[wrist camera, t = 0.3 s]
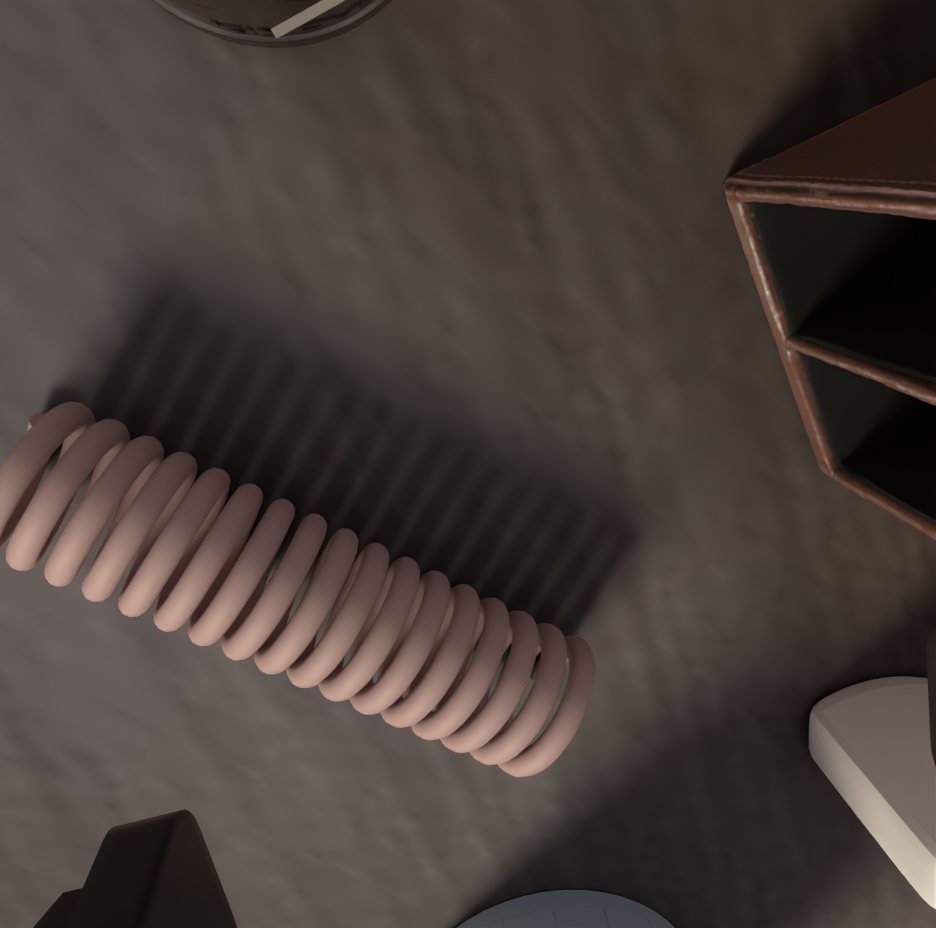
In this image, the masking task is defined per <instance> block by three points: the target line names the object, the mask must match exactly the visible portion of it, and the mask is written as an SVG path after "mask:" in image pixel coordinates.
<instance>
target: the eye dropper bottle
mask: <svg viewBox="0 0 936 928" xmlns="http://www.w3.org/2000/svg"><path fill="white" fill-rule="evenodd" d="M809 750H810V753H811V756H812V758H813V759H814V761H815V762H816V763H817V765H818V766H819V767H820V769H821V770H822V771H823V772H824V774H825V775H826V776H827V778H828V779H829V780H830V782H831V783H832V784H833V785H834V787H835V788H836V789H837V791H838V792H839V793H840V794H841V796H842V797H843V798H844V800H845V801H846V802H847V804H848V805H849V806H850V807H851V809H852V810H853V811H854V813H855V814H856V815H857V816H858V818H859V819H860V820H861V822H862V823H863V824H864V825H865V827H866V828H867V829H868V831H869V832H870V833H871V834H872V836H873V837H874V838H875V840H876V841H877V842H878V843H879V845H880V846H881V847H882V849H883V850H884V851H885V852H886V854H887V855H888V856H889V858H890V859H891V860H892V861H893V863H894V864H895V865H896V867H897V868H898V869H899V870H900V872H901V873H902V874H903V875H904V876H905V878H906V879H907V880H908V881H909V883H910V884H911V885H912V886H913V887H914V889H915V890H916V891H917V892H918V894H919V895H920V896H921V897H922V898H923V899H924V900H925V901H926V902H927V903H928V904H929V905H930V906H932V907H933V908H934V909H936V767H935V763H934V760H933V756H932V751H931V741H930V721H929V700H928V679H927V678H921V677H909V676H896V677H885V678H878V679H873V680H869V681H865V682H861V683H858V684H855V685H852V686H849V687H846V688H844V689H841V690H839V691H837V692H835V693H833V694H831V695H829V696H827V697H825V698H823V699H822V700H820V701H819V702H818V703H817V704H816V705H815V706H814V707H813V708H812V711H811V714H810V720H809Z"/></svg>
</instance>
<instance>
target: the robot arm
mask: <svg viewBox="0 0 936 928" xmlns="http://www.w3.org/2000/svg"><path fill="white" fill-rule="evenodd" d="M152 1H154V2H155V3H156V4H158V5H159V6H160V7H162V8H163V9H164V10H166V11H167V12H168V13H170V14H171V15H173V16H175V17H176V18H178V19H180V20H181V21H183V22H185V23H186V24H188V25H190V26H192V27H194V28H196V29H198V30H201V31H203V32H205V33H207V34H210V35H213V36H215V37H218V38H221V39H224V40H228V41H232V42H235V43H239V44H245V45H251V46H258V47H275V48H278V47H295V46H301V45H308V44H313V43H317V42H320V41H324V40H327V39H331V38H333V37H336V36H338V35H341V34H343V33H345V32H347V31H349V30H351V29H353V28H355V27H357V26H359V25H361V24H362V23H364V22H365V21H367V20H368V19H370V18H371V17H373V16H374V15H375V14H377V13H378V12H379V11H380V10H382V9H383V8H384V7H385V6H386V5H387V4H389V3H390V2H391V1H392V0H152ZM926 659H927V679H928V700H929V721H930V741H931V751H932V756H933V760H934V763H935V767H936V627H934V628H933V629H931V631H930V632H929V634H928V637H927V642H926ZM33 928H237V926H236V923H235V920H234V917H233V914H232V911H231V909H230V906H229V903H228V901H227V898H226V896H225V893H224V890H223V888H222V885H221V882H220V880H219V877H218V875H217V872H216V869H215V867H214V864H213V862H212V859H211V856H210V854H209V851H208V848H207V846H206V843H205V841H204V838H203V835H202V833H201V830H200V828H199V825H198V823H197V821H196V819H195V817H194V816H193V815H192V814H191V812H189V811H188V810H181V811H177V812H172V813H168V814H164V815H160V816H156V817H152V818H148V819H144V820H140V821H136V822H132V823H128V824H124V825H120V826H116V827H113V828H112V829H110V830H109V831H108V833H107V834H106V836H105V838H104V840H103V842H102V844H101V847H100V849H99V851H98V854H97V856H96V858H95V861H94V863H93V865H92V868H91V870H90V872H89V875H88V877H87V879H86V882H85V884H84V886H83V888H81V889H77V890H73V891H69V892H65V893H62V895H61V896H60V897H59V898H58V899H57V900H56V902H55V903H54V904H53V905H52V906H51V907H50V909H49V910H48V911H47V912H46V913H45V914H44V916H43V917H42V918H41V919H40V920H39V921H38V923H37V924H36V925H35V926H34V927H33Z"/></svg>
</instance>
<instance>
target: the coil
mask: <svg viewBox="0 0 936 928" xmlns="http://www.w3.org/2000/svg"><path fill="white" fill-rule="evenodd" d="M63 441H64V442H63ZM62 442H63V446H62V450H61V453H60V456H59V459H58V462H57V464H56V465H55V466H54V468H53V469H52V470H51V472H50V473H49V475H48V476H47V477H46V479H45V480H44V482H43V483H42V485H41V486H40V488H39V489H38V491H37V493H36V494H35V496H34V497H33V495H34V493H35V491H36V489H37V486H38V484H39V482H40V480H41V478H42V475H43V473H44V471H45V468H46V466H47V464H48V461H49V458H50V456H51V455H52V454H53V452H54V451H55V450H56V449H57V448H58V447H59V445H60V444H61V443H62ZM163 459H164V449H163V447H162V444H161V442H160V441H159V440H157V439H156V438H155V437H153V436H146V435H143V436H140V437H138V438H135V439H133V440H131V441H130V435H129V432H128V429H127V427H126V426H125V425H124V424H123V423H121V422H120V421H119V420H115V419H105V420H102V421H99V422H97V423H95V418H94V416H93V413H92V411H91V410H90V409H89V408H88V407H87V406H85V405H84V404H83V403H78V402H71V401H70V402H67V403H63V404H61V405H58V406H56V407H54V408H53V409H51V410H50V411H48V412H47V413H39V414H35V415H33V416H31V418H30V420H29V425H28V430H27V433H26V434H25V435H24V436H23V437H22V439H21V440H20V441H19V442H18V444H17V445H16V446H15V447H14V449H13V450H12V451H11V453H10V454H9V455H8V457H7V458H6V460H5V461H4V462H3V464H2V465H1V467H0V547H2V545H3V544H4V543H5V542H6V540H7V539H8V538H9V536H10V535H11V533H12V532H13V530H14V529H15V527H16V525H17V524H18V525H17V527H16V529H15V530H14V532H13V535H12V537H11V539H10V541H9V543H8V546H7V549H6V561H7V562H8V564H9V565H10V566H11V568H14V569H16V570H18V571H24V570H29V569H30V568H32V567H34V566H35V565H37V563H38V562H39V561H40V559H41V558H42V556H43V555H44V553H45V551H46V550H47V548H48V546H49V545H50V543H51V541H52V539H53V537H54V536H55V534H56V532H57V530H58V528H59V526H60V525H61V523H62V521H63V519H64V517H65V515H66V513H67V511H68V508H69V506H70V504H71V502H72V500H73V498H74V495H75V493H76V492H77V490H78V489H79V487H80V486H81V485H82V483H83V482H84V480H85V479H86V478H87V476H88V475H89V474H90V472H91V471H92V470H93V468H94V467H95V469H94V472H93V474H92V477H91V480H90V482H89V485H88V487H87V490H86V492H85V495H84V497H83V499H82V501H81V504H80V506H79V507H78V509H77V510H76V512H75V514H74V515H73V517H72V518H71V520H70V522H69V523H68V525H67V527H66V528H65V530H64V532H63V533H62V535H61V537H60V538H59V540H58V542H57V544H56V546H55V547H54V549H53V551H52V553H51V555H50V557H49V559H48V561H47V563H46V565H45V578H46V579H47V581H48V582H49V583H50V584H52V585H54V586H66V585H67V584H69V583H71V582H72V581H73V579H74V578H75V576H76V574H77V573H78V571H79V569H80V567H81V565H82V564H83V562H84V560H85V558H86V556H87V554H88V552H89V551H90V549H91V547H92V545H93V544H94V542H95V540H96V539H97V537H98V535H99V534H100V532H101V531H102V529H103V527H104V526H105V524H106V523H107V521H108V519H109V518H110V516H111V515H112V513H113V512H114V510H115V509H116V507H117V506H118V504H119V503H120V501H121V503H120V505H119V508H118V510H117V512H116V515H115V517H114V519H113V521H112V524H111V526H110V528H109V530H108V533H107V535H106V537H105V539H104V541H103V543H102V546H101V548H100V550H99V552H98V554H97V556H96V558H95V560H94V562H93V564H92V566H91V568H90V570H89V572H88V574H87V576H86V578H85V580H84V582H83V584H82V593H83V594H84V596H85V597H86V599H88V600H91V601H93V602H97V601H103V600H104V599H106V598H108V597H109V596H110V595H111V593H112V592H113V590H114V589H115V587H116V586H117V584H118V582H119V581H120V579H121V578H122V576H123V574H124V573H125V571H126V569H127V568H128V566H129V565H130V563H131V561H132V560H133V558H134V556H135V555H136V553H137V552H138V550H139V552H138V554H137V556H136V558H135V561H134V563H133V565H132V568H131V570H130V572H129V574H128V577H127V579H126V581H125V584H124V586H123V588H122V591H121V593H120V596H119V599H118V606H119V609H120V610H121V612H122V613H123V614H125V615H127V616H129V617H134V616H139V615H141V614H143V613H144V612H146V611H147V610H148V608H149V607H150V606H151V605H152V603H153V602H154V600H155V599H156V597H157V596H158V594H159V593H160V595H159V597H158V600H157V603H156V606H155V609H154V623H155V624H156V626H157V627H158V628H159V629H161V630H163V631H165V632H166V631H175V630H176V629H178V628H180V627H181V626H182V625H184V624H185V622H186V621H187V620H188V619H189V618H190V619H189V624H188V635H189V637H190V639H191V640H192V642H193V643H195V644H197V645H199V646H207V645H211V644H212V643H214V642H215V641H217V640H218V639H220V638H221V637H222V650H223V651H224V653H225V654H226V656H227V657H228V658H231V659H233V660H244V659H246V658H248V657H249V656H251V655H252V654H253V653H254V657H255V663H256V665H257V666H258V668H259V669H260V670H261V671H262V672H264V673H266V674H278V673H280V672H282V671H283V670H285V669H286V671H287V675H288V677H289V679H290V681H291V682H292V683H293V684H294V685H296V686H298V687H300V688H309V687H313V686H315V685H317V684H318V687H319V689H320V691H321V692H322V694H323V696H325V697H326V698H327V699H329V700H331V701H344V700H347V699H349V700H350V701H351V703H352V705H353V707H354V708H355V709H356V710H357V711H359V712H361V713H363V714H367V715H370V714H377V713H381V715H382V717H383V718H384V720H385V721H386V722H387V723H388V724H390V725H392V726H394V727H399V728H401V727H408V726H411V728H412V730H413V731H414V732H415V734H416V735H418V736H420V737H421V738H423V739H425V740H437V739H440V740H441V742H442V743H443V744H444V745H445V747H447V748H449V749H451V750H452V751H454V752H458V753H464V752H470V754H471V755H472V756H473V757H474V759H476V760H478V761H480V762H482V763H483V764H487V765H495V764H498V766H499V767H500V768H501V769H502V770H503V771H505V772H507V773H509V774H511V775H512V776H516V777H525V776H532V775H534V774H537V773H539V772H541V771H542V770H544V769H546V768H547V767H548V766H549V765H551V764H552V763H553V762H554V761H555V760H556V759H557V758H558V757H559V756H560V754H561V753H562V752H563V751H564V749H565V748H566V747H567V745H568V744H569V742H570V741H571V739H572V738H573V736H574V735H575V733H576V731H577V729H578V727H579V725H580V723H581V721H582V719H583V717H584V714H585V712H586V709H587V706H588V704H589V701H590V697H591V693H592V690H593V684H594V678H595V661H594V656H593V653H592V651H591V648H590V646H589V645H588V643H587V642H586V641H584V640H583V639H581V638H580V637H578V636H565V637H564V636H563V634H562V632H561V631H560V629H558V628H557V627H555V626H554V625H552V624H546V623H540V624H537V625H536V623H535V621H534V619H533V617H532V616H531V615H529V614H528V613H526V612H525V611H512V612H509V613H508V611H507V608H506V606H505V604H504V603H503V602H501V601H500V600H499V599H497V598H485V599H483V600H481V601H480V599H479V597H478V595H477V592H476V590H475V589H473V588H472V587H471V586H469V585H466V584H459V585H457V586H455V587H453V588H451V589H450V584H449V581H448V579H447V577H446V576H445V575H444V574H443V573H441V572H440V571H429V572H427V573H425V574H423V575H422V576H421V577H420V569H419V566H418V564H417V562H416V561H414V560H413V559H412V558H410V557H401V558H399V559H397V560H395V561H394V562H393V563H392V564H391V565H390V566H389V568H388V565H389V553H388V551H387V548H386V547H385V546H383V545H382V544H380V543H371V544H369V545H367V546H365V547H364V548H363V550H362V551H361V552H360V554H359V555H358V557H357V558H356V560H355V561H354V559H355V556H356V553H357V549H358V538H357V536H356V534H355V533H354V532H353V531H352V530H350V529H345V528H342V529H340V530H338V531H336V532H335V533H334V534H333V536H332V537H331V538H330V540H329V541H328V543H327V545H326V547H325V548H324V550H323V552H322V554H321V556H320V558H319V560H318V563H317V565H316V567H315V569H314V571H313V574H312V576H311V578H310V581H309V583H308V585H307V588H306V590H305V593H304V596H303V598H302V601H301V603H300V605H299V606H298V608H297V610H296V611H295V613H294V615H293V616H292V618H291V619H290V621H289V622H288V624H287V620H288V617H289V614H290V611H291V608H292V605H293V602H294V599H295V597H296V594H297V592H298V590H299V588H300V587H301V585H302V583H303V581H304V579H305V577H306V576H307V574H308V572H309V570H310V568H311V566H312V564H313V562H314V560H315V558H316V556H317V554H318V552H319V549H320V547H321V545H322V543H323V540H324V538H325V535H326V530H327V524H326V521H325V519H324V518H323V517H322V516H320V515H319V514H310V515H307V516H305V517H304V519H303V520H302V521H301V522H300V524H299V526H298V528H297V530H296V532H295V534H294V536H293V538H292V541H291V543H290V545H289V547H288V549H287V551H286V553H285V555H284V557H283V558H282V560H281V562H280V564H279V566H278V567H277V569H276V571H275V573H274V574H273V576H272V578H271V580H270V581H269V583H268V585H267V586H266V588H265V590H264V591H263V589H264V586H265V583H266V581H267V578H268V576H269V573H270V571H271V568H272V566H273V563H274V561H275V558H276V556H277V554H278V551H279V549H280V547H281V545H282V542H283V540H284V538H285V536H286V533H287V531H288V529H289V527H290V525H291V523H292V521H293V519H294V516H295V508H294V506H293V504H292V503H291V502H290V501H288V500H287V499H278V500H275V501H273V502H272V503H271V505H270V506H269V507H268V509H267V510H266V512H265V514H264V515H263V517H262V519H261V520H260V522H259V524H258V526H257V527H256V529H255V531H254V532H253V534H252V536H251V538H250V539H249V541H248V543H247V545H246V546H245V544H246V541H247V539H248V537H249V534H250V532H251V529H252V527H253V525H254V522H255V520H256V517H257V515H258V513H259V510H260V507H261V505H262V500H263V494H262V491H261V489H260V488H259V487H258V486H256V485H255V484H249V483H247V484H244V485H242V486H240V487H239V488H238V489H237V490H236V491H235V492H234V494H233V495H232V496H231V498H230V499H229V501H228V502H227V504H226V505H225V507H224V504H225V502H226V499H227V496H228V493H229V488H230V478H229V476H228V473H227V472H225V471H224V470H223V469H220V468H211V469H209V470H206V471H205V472H203V473H202V475H201V476H200V477H199V478H198V479H197V481H196V482H195V479H196V474H197V463H196V461H195V458H194V457H193V456H191V455H190V454H189V453H186V452H177V453H174V454H171V455H170V456H168V457H167V458H166V459H165V460H164V461H163ZM32 497H33V499H32ZM31 499H32V500H31ZM30 501H31V502H30ZM29 503H30V504H29ZM28 504H29V505H28ZM27 506H28V507H27ZM223 507H224V508H223ZM26 508H27V509H26ZM22 515H23V516H22ZM19 520H20V521H19ZM18 522H19V523H18ZM244 546H245V548H244ZM139 548H140V549H139ZM243 549H244V550H243ZM353 562H354V563H353ZM352 564H353V565H352ZM160 591H161V592H160ZM262 591H263V593H262ZM261 594H262V595H261ZM336 598H337V599H336ZM335 600H336V601H335ZM334 602H335V604H334ZM333 604H334V606H333ZM332 606H333V609H332V612H331V615H330V617H329V620H328V623H327V626H326V630H325V633H324V636H323V637H322V639H321V640H320V642H319V643H318V644H317V646H316V647H315V648H314V645H315V641H316V637H317V633H318V630H319V628H320V627H321V625H322V623H323V622H324V620H325V618H326V617H327V615H328V613H329V611H330V610H331V608H332ZM286 624H287V625H286ZM480 636H481V637H480ZM479 638H480V640H479ZM478 640H479V643H478V646H477V649H476V651H475V654H474V656H473V658H472V661H471V663H470V665H469V667H468V669H467V671H466V673H465V674H464V672H465V669H466V666H467V663H468V661H469V658H470V656H471V653H472V651H473V649H474V647H475V645H476V643H477V641H478ZM354 641H355V642H354ZM511 642H512V646H511V650H510V654H509V656H508V658H507V660H506V661H505V664H504V666H503V668H502V670H501V673H500V676H499V678H498V681H497V684H496V687H495V689H494V691H493V693H492V695H491V696H490V698H489V699H488V694H489V690H490V686H491V683H492V680H493V678H494V676H495V674H496V672H497V669H498V667H499V665H500V662H501V659H502V656H503V654H504V653H505V651H506V649H507V648H508V646H509V645H510V644H511ZM353 643H354V646H353V650H352V654H351V658H350V661H349V662H348V663H347V664H346V665H345V667H344V668H343V662H344V656H345V655H346V653H347V652H348V650H349V649H350V647H351V646H352V644H353ZM540 651H541V657H540V658H539V660H538V662H537V663H536V665H535V667H534V668H533V666H534V662H535V658H536V656H537V655H538V654H539V653H540ZM568 662H569V675H568V681H567V686H566V689H565V692H564V695H563V698H562V700H561V703H560V705H559V707H558V709H557V711H556V713H555V715H554V717H553V719H552V721H551V722H550V724H549V725H548V727H547V728H546V730H545V731H544V732H543V734H542V735H541V736H540V737H539V738H538V739H537V740H536V741H535V742H534V743H533V744H531V745H530V746H528V747H527V745H528V744H529V743H530V742H531V741H532V740H533V738H534V737H535V736H536V734H537V733H538V732H539V730H540V729H541V727H542V726H543V724H544V723H545V721H546V719H547V717H548V716H549V714H550V712H551V710H552V708H553V705H554V703H555V701H556V699H557V696H558V693H559V691H560V687H561V684H562V681H563V677H564V673H565V668H566V663H568ZM379 668H380V670H379V677H378V680H377V681H376V682H375V683H374V684H373V676H374V675H375V673H376V672H377V671H378V669H379ZM463 675H464V676H463ZM530 677H531V678H532V680H533V681H534V684H533V686H532V689H531V691H530V693H529V695H528V697H527V699H526V701H525V703H524V705H523V707H522V708H521V710H520V711H519V713H518V714H517V716H516V717H515V719H514V720H513V714H514V710H515V708H516V706H517V704H518V703H519V701H520V699H521V697H522V695H523V693H524V691H525V688H526V686H527V684H528V681H529V679H530ZM406 689H407V692H406V697H405V698H403V697H402V694H403V693H404V692H405V690H406ZM487 699H488V701H487ZM433 708H434V712H432V709H433ZM526 747H527V748H526Z"/></svg>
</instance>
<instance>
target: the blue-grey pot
mask: <svg viewBox="0 0 936 928" xmlns="http://www.w3.org/2000/svg"><path fill="white" fill-rule="evenodd" d="M457 928H674V926H673V925H672V924H671V923H670V922H669V921H667V920H666V919H665V918H663V917H662V916H661V915H659V914H658V913H657V912H655V911H653V910H651V909H650V908H648V907H646V906H644V905H642V904H640V903H638V902H635V901H633V900H630V899H628V898H625V897H622V896H618V895H614V894H609V893H605V892H598V891H590V890H557V891H546V892H540V893H535V894H530V895H525V896H522V897H518V898H515V899H512V900H509V901H506V902H503V903H500V904H498V905H496V906H493V907H491V908H489V909H486V910H484V911H482V912H481V913H479V914H477V915H475V916H473V917H472V918H470V919H468V920H466V921H465V922H464V923H462V924H461V925H459V926H458V927H457Z"/></svg>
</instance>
